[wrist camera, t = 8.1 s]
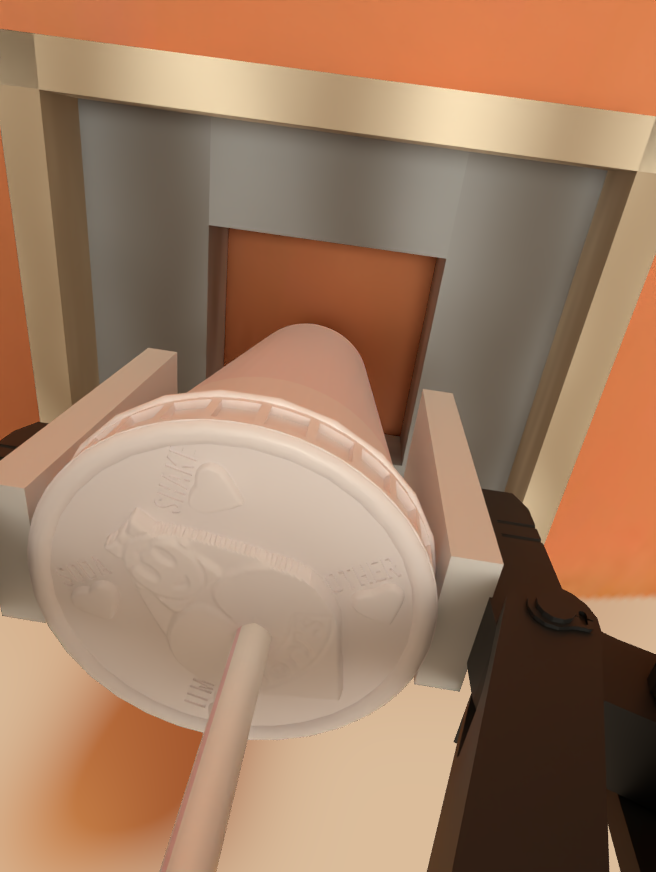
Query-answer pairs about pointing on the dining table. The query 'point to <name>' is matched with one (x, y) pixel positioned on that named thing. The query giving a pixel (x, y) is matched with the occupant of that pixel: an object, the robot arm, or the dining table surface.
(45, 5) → the dining table surface
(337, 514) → the smoothie
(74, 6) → the dining table surface
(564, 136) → the socket box
